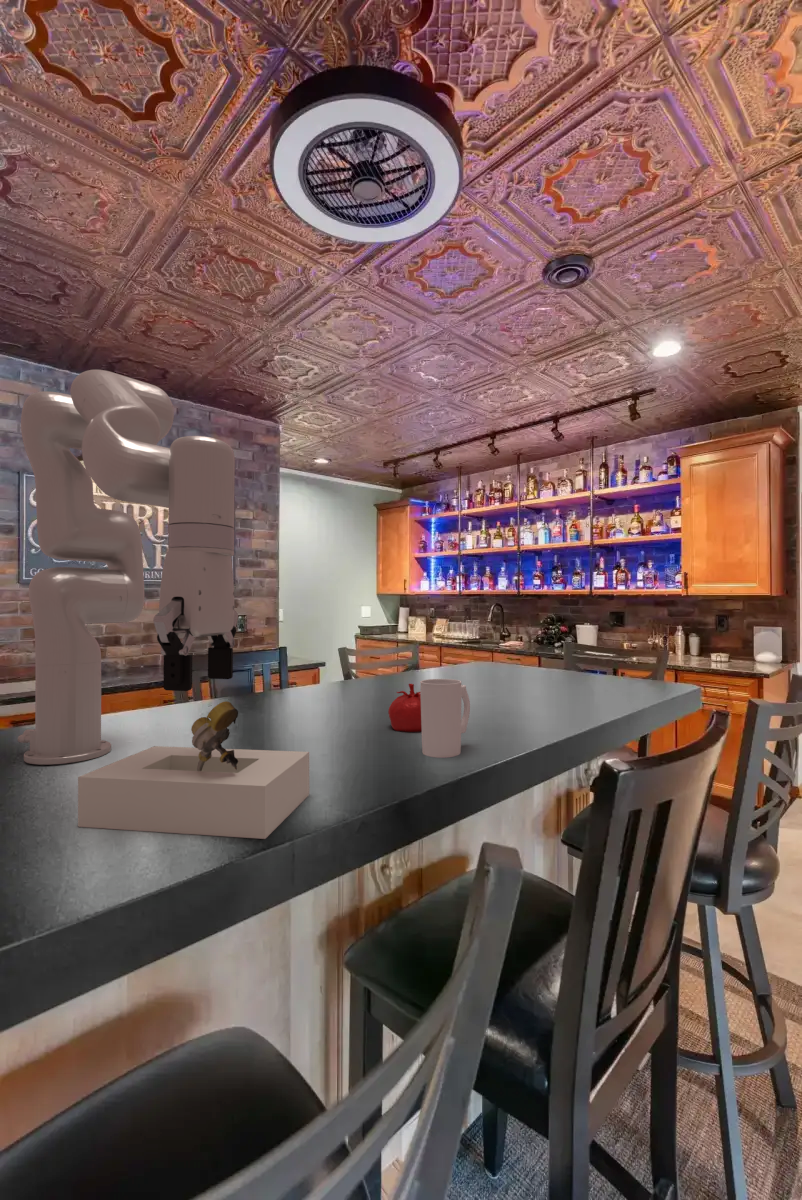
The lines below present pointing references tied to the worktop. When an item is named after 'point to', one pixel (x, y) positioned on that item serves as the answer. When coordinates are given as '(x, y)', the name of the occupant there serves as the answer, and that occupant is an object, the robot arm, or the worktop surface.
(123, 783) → the stand
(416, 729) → the pomegranate
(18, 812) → the worktop surface
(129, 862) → the worktop surface
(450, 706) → the mug
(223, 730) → the regulator
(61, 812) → the worktop surface
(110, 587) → the robot arm
